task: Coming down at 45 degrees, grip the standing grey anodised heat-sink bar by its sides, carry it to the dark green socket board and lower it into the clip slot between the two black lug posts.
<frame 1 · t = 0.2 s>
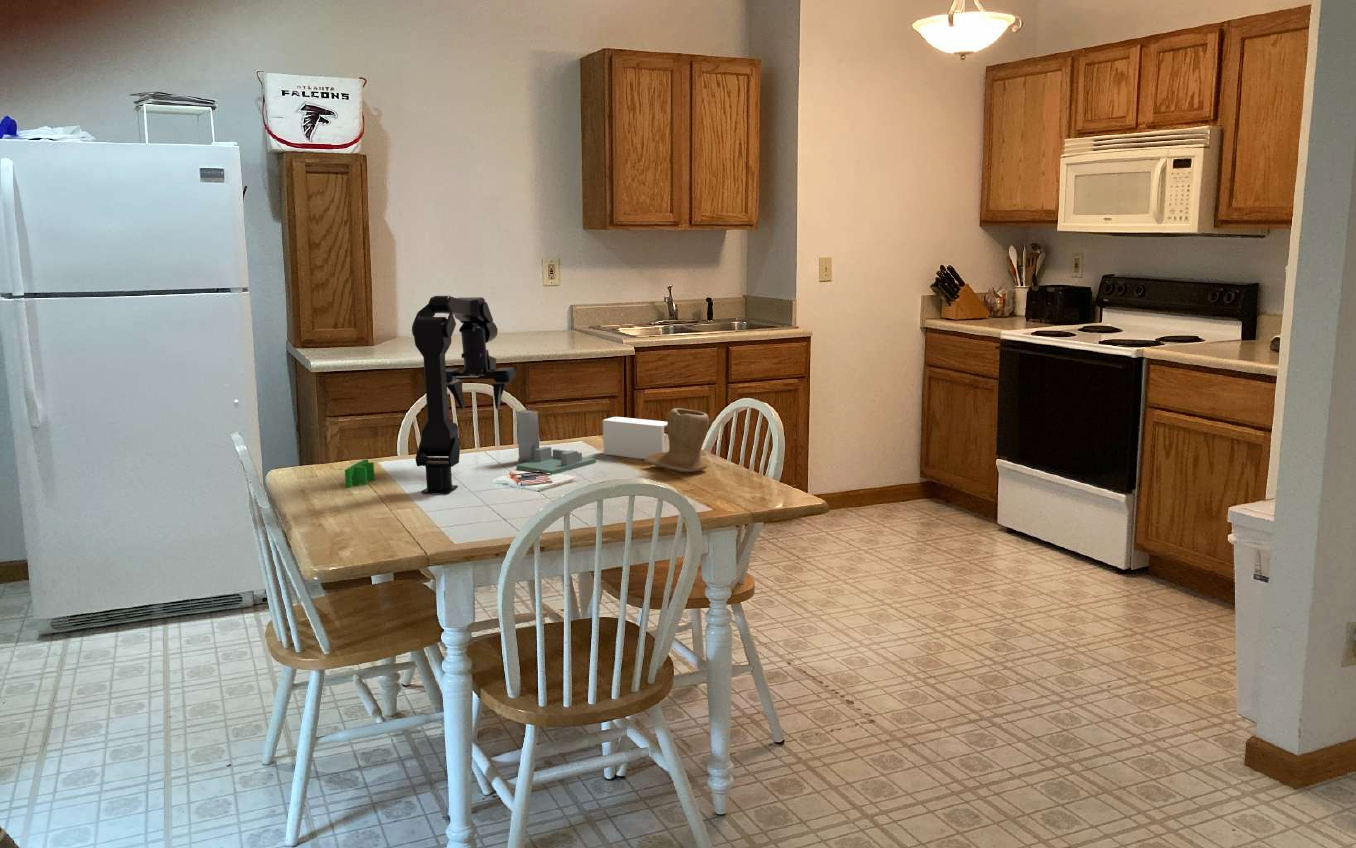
hand: (480, 409, 275), 14 cm above the table, tool pointing down, fingers open, 9 cm apart
fuzzy boot: (681, 470, 268), on the table
white rectangular box: (636, 457, 284), on the table
socket plate: (556, 465, 274), on the table
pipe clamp: (362, 483, 261), on the table
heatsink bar: (529, 461, 280), on the table
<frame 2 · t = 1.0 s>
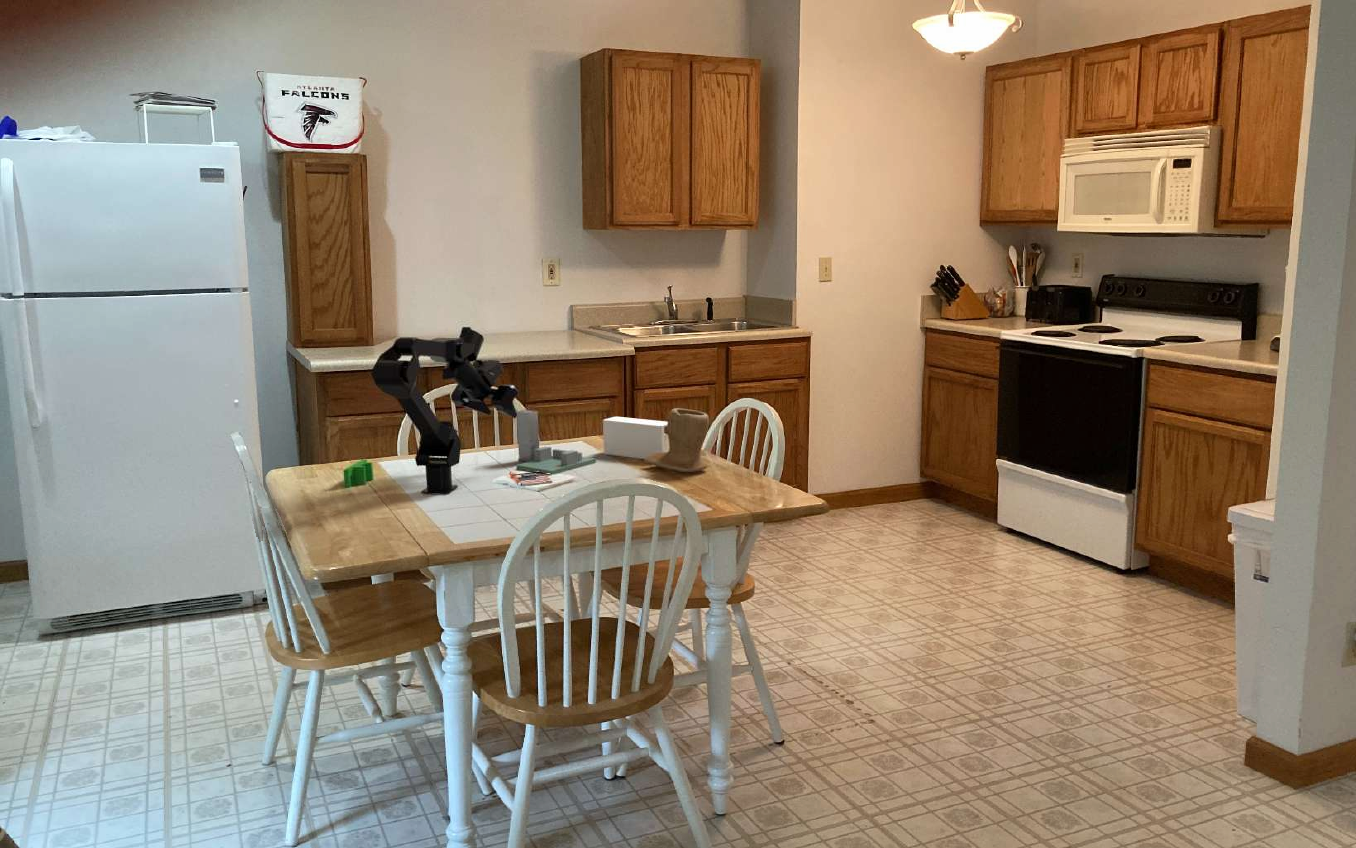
hand: (502, 415, 271), 13 cm above the table, tool tilted 45°, fingers open, 9 cm apart
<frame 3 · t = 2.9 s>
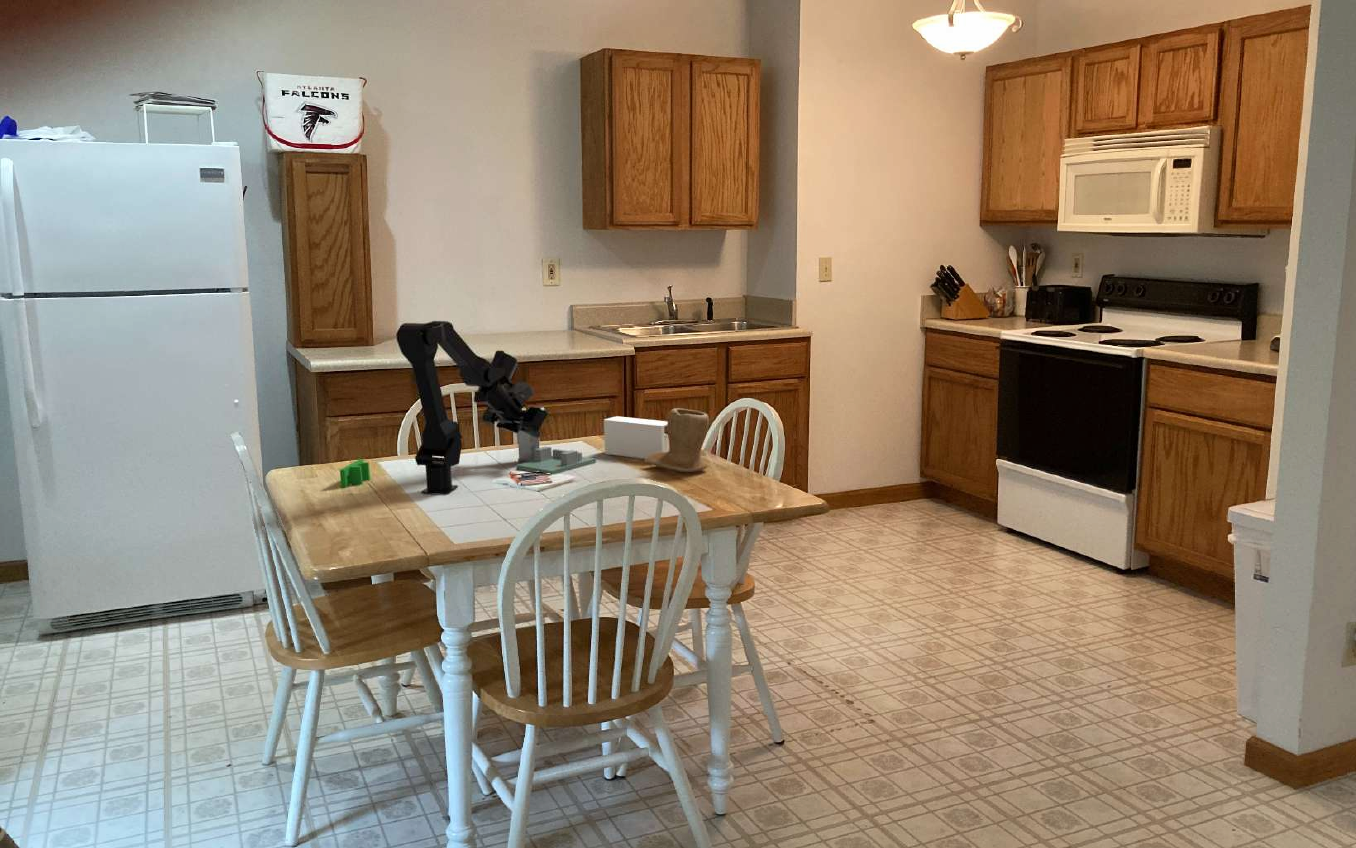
hand: (532, 435, 280), 7 cm above the table, tool tilted 45°, fingers closed on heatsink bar, 4 cm apart
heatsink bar: (529, 461, 280), on the table, touching gripper
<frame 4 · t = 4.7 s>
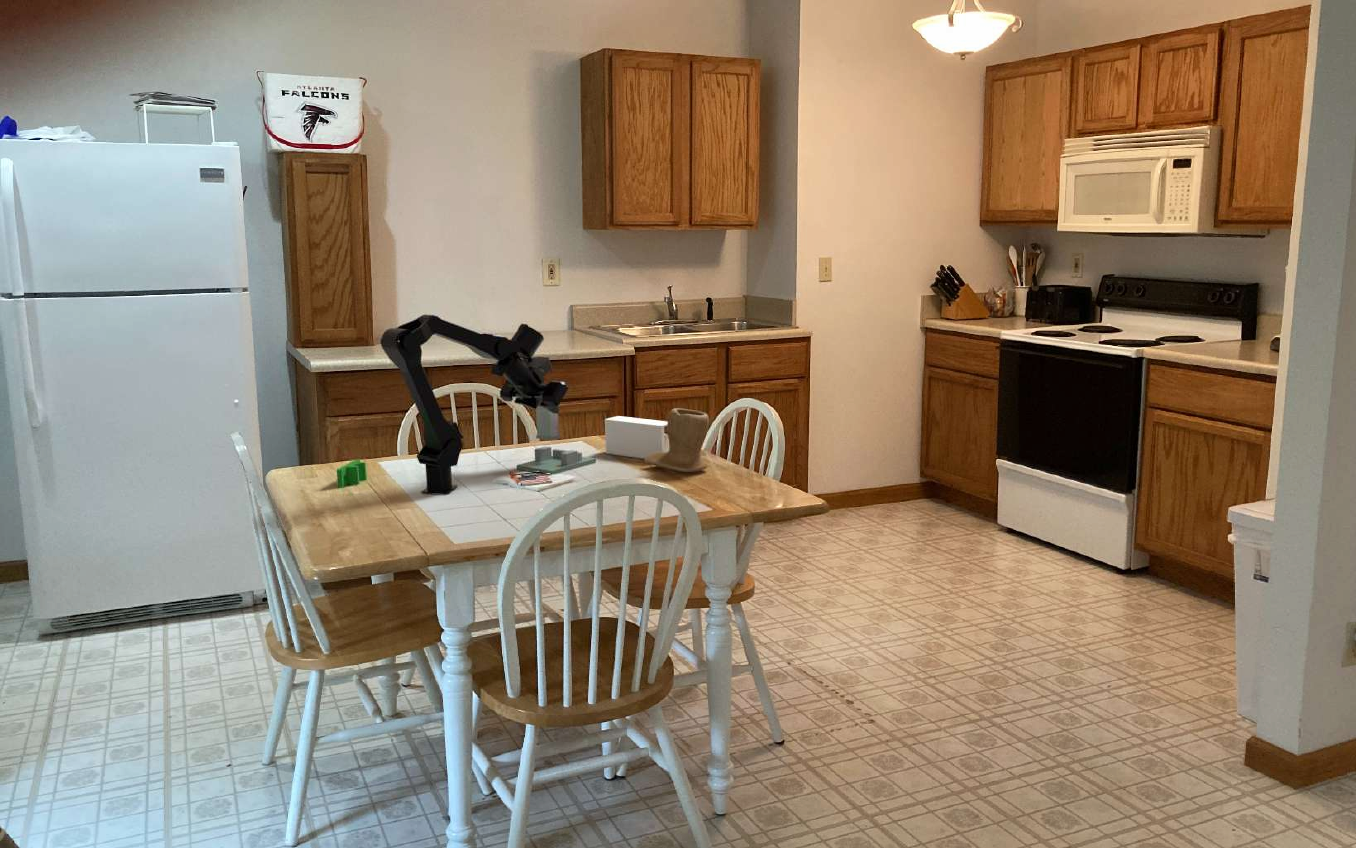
hand: (550, 411, 274), 13 cm above the table, tool tilted 45°, fingers closed on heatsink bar, 4 cm apart
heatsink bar: (548, 438, 274), point 7 cm above the table, touching gripper
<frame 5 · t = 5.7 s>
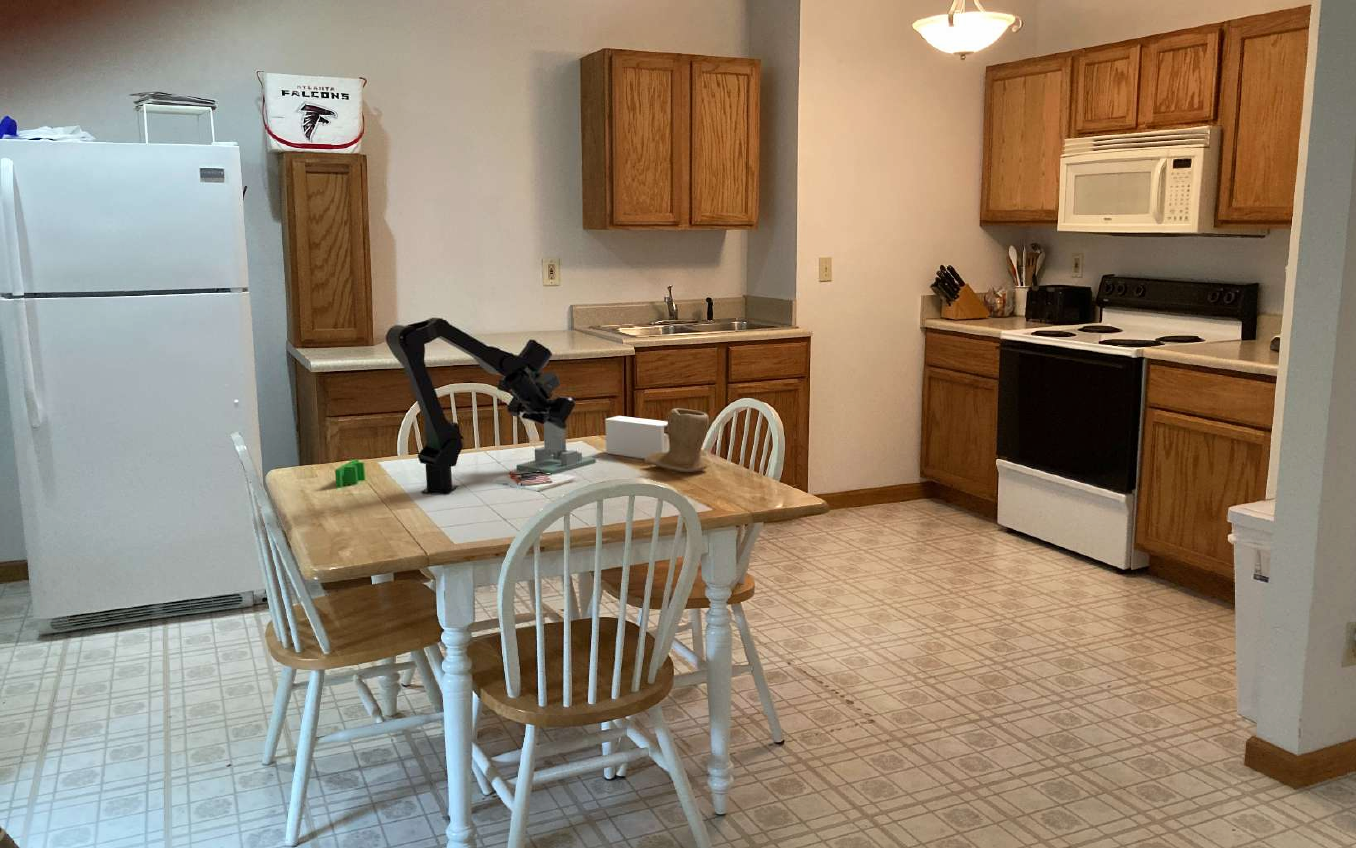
hand: (558, 426, 274), 10 cm above the table, tool tilted 45°, fingers closed on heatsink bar, 4 cm apart
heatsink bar: (555, 453, 274), point 3 cm above the table, touching gripper
when the fingers open (9 cm above the table, at t = 6.3 s): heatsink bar drops 1 cm, resting on socket plate.
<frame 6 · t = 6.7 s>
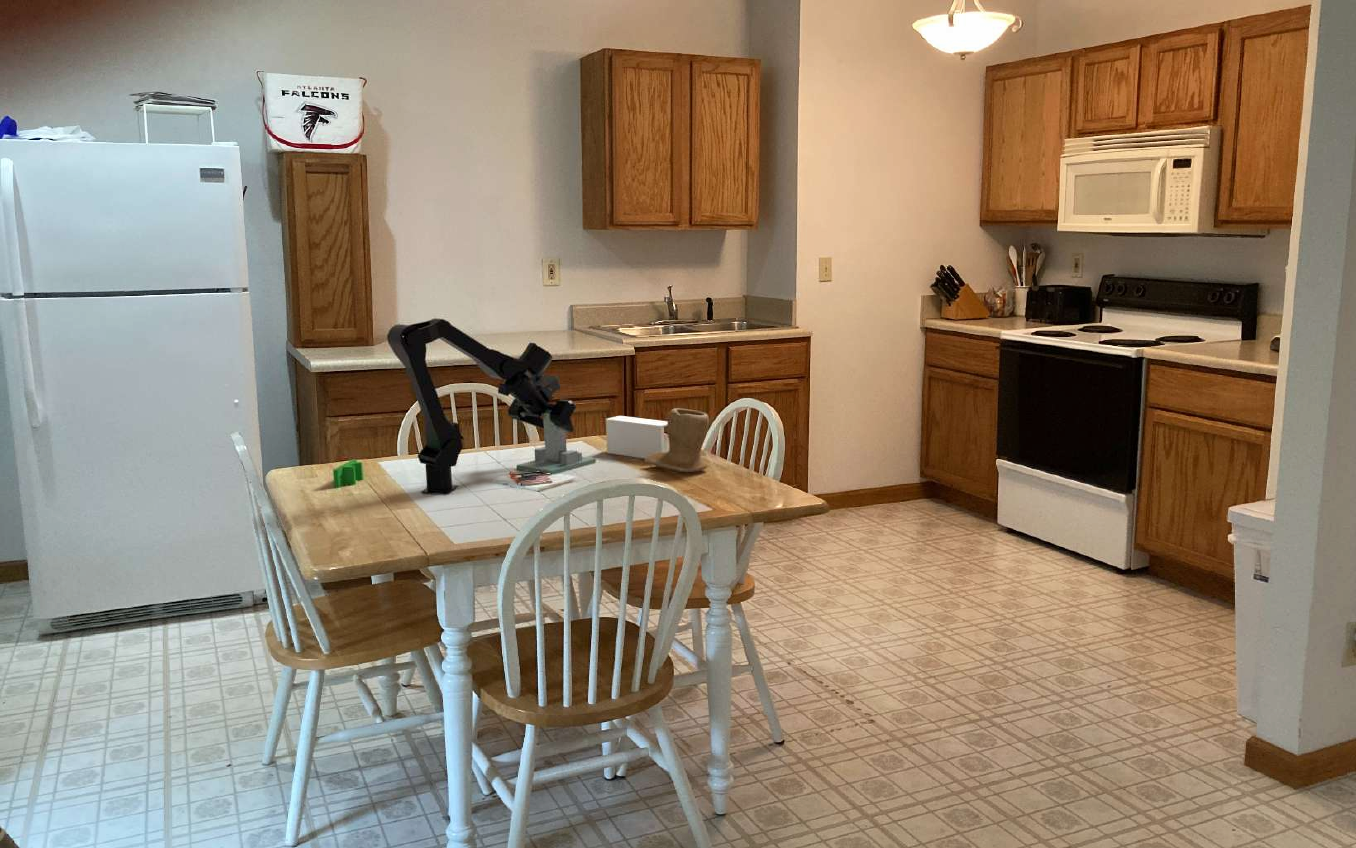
hand: (558, 429, 274), 9 cm above the table, tool tilted 45°, fingers open, 9 cm apart
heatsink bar: (556, 461, 274), point 1 cm above the table, touching socket plate
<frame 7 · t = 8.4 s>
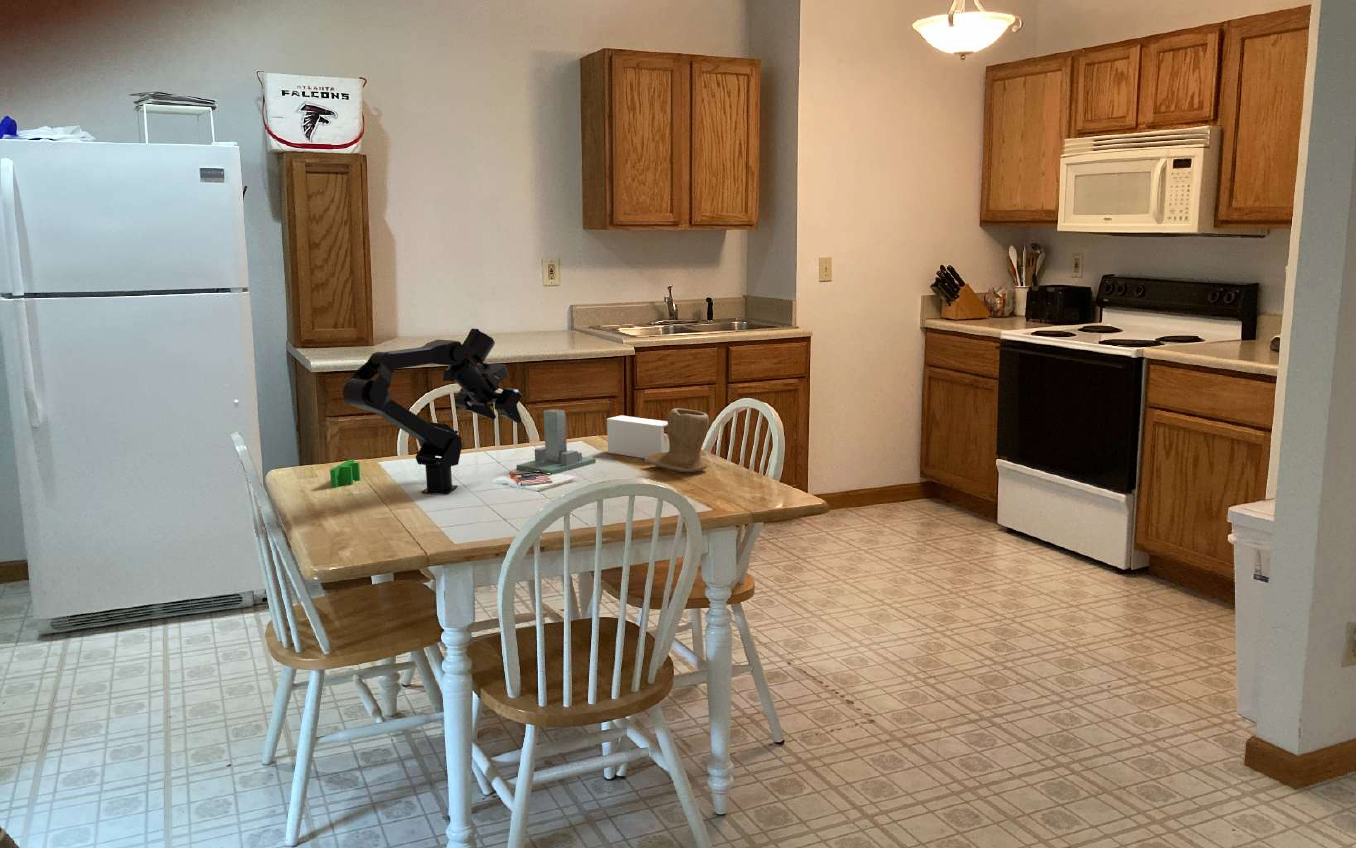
hand: (507, 420, 266), 13 cm above the table, tool tilted 45°, fingers open, 9 cm apart
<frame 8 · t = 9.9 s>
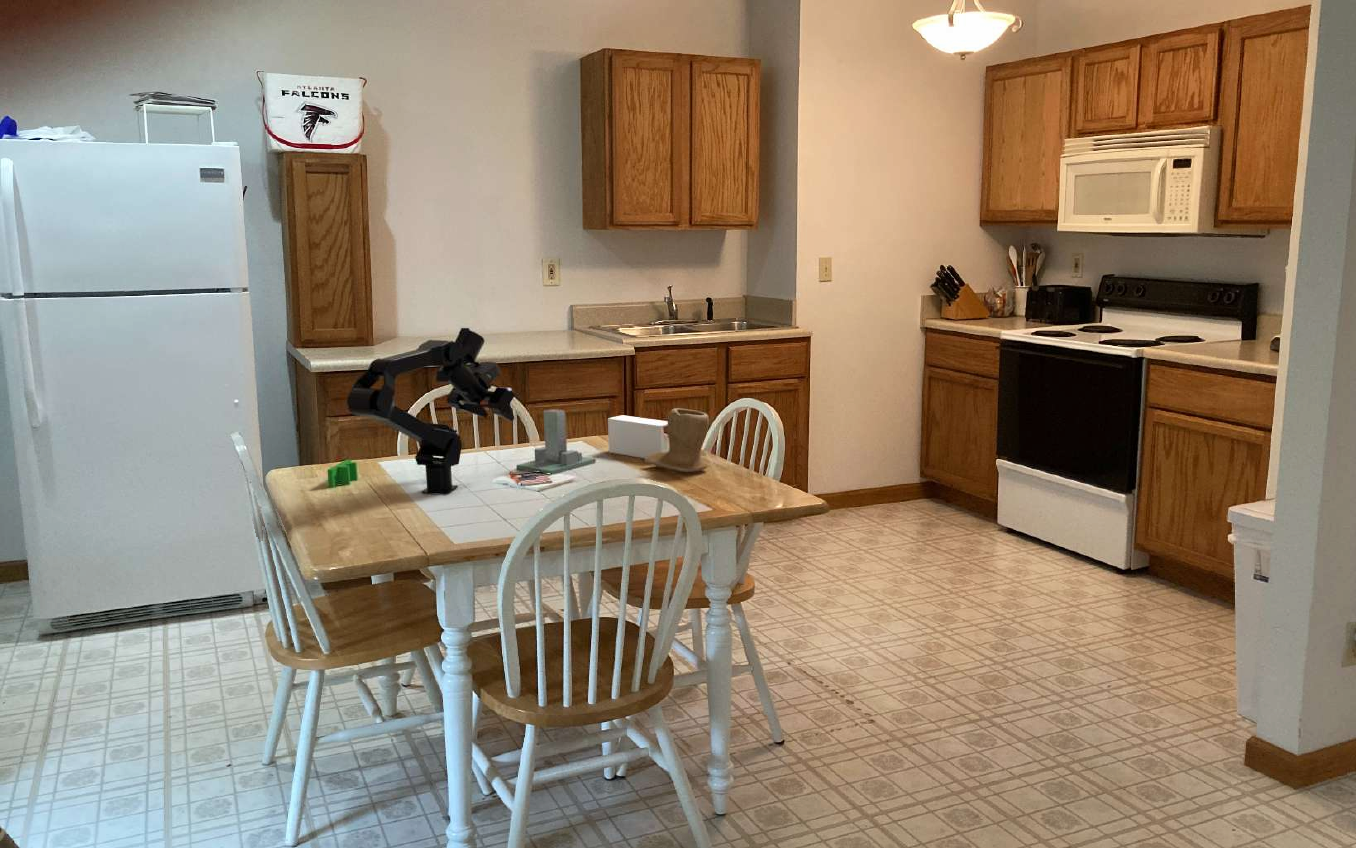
hand: (499, 417, 266), 14 cm above the table, tool tilted 45°, fingers open, 9 cm apart
at the end: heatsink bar 0.0 cm off-centre on the socket plate, point 1.0 cm above the socket plate's base; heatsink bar tilted 0°; the gripper is holding nothing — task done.
